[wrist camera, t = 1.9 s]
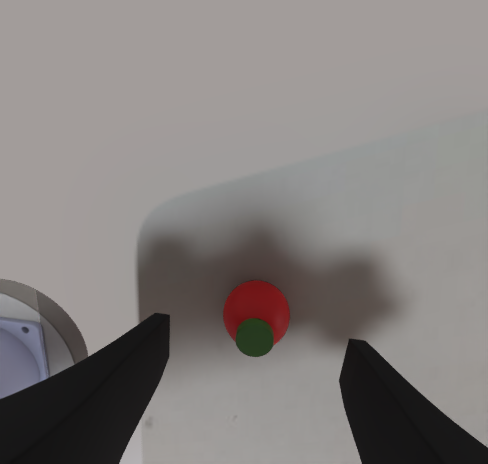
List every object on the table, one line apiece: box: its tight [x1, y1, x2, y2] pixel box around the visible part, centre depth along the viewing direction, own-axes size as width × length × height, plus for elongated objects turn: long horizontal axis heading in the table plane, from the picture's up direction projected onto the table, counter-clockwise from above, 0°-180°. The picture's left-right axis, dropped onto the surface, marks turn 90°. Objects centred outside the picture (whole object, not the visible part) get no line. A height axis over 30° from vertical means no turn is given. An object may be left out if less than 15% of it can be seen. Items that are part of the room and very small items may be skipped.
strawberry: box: [223, 280, 290, 357], centre depth 13 cm, size 3×3×4 cm
